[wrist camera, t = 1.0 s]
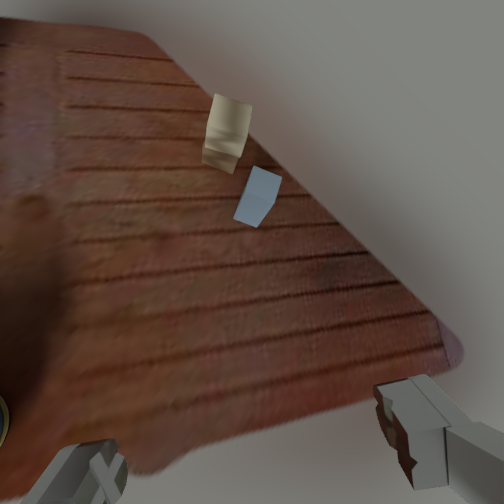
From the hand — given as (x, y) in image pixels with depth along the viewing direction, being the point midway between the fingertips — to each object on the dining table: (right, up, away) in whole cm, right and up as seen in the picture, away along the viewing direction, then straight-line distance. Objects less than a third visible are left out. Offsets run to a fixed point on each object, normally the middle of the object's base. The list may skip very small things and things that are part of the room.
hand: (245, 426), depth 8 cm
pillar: (0, +13, +38) cm, 40 cm away
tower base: (-5, +23, +39) cm, 46 cm away
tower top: (-4, +25, +35) cm, 43 cm away
